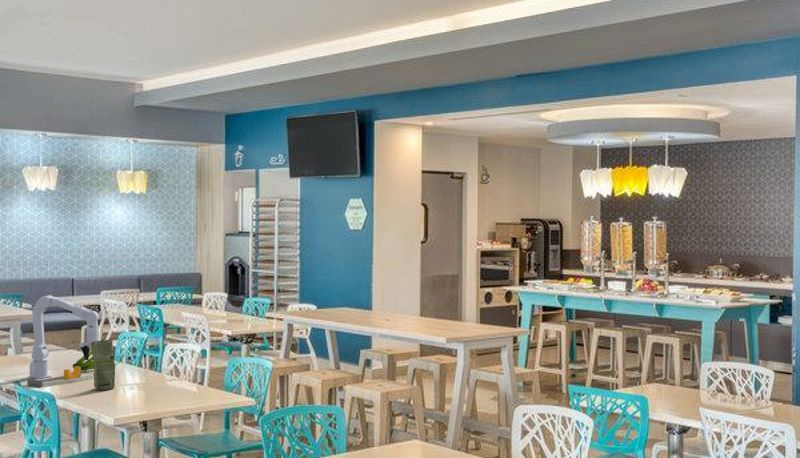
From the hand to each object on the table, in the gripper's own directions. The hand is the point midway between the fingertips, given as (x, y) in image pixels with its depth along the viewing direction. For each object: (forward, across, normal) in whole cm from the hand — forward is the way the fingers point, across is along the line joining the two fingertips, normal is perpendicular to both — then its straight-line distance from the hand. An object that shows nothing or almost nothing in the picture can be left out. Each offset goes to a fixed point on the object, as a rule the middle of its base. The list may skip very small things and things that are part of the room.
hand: (92, 358), depth 498 cm
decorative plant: (+10, +16, +16) cm, 24 cm away
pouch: (+10, -20, -37) cm, 43 cm away
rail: (+9, -20, 0) cm, 22 cm away
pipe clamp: (+10, -14, 0) cm, 17 cm away
